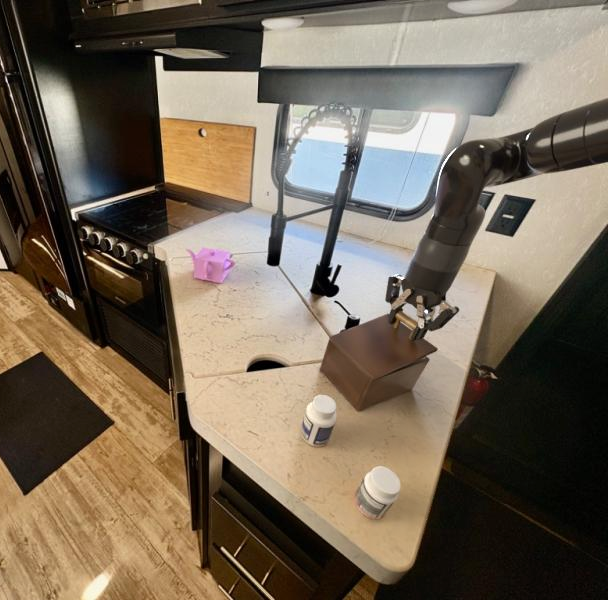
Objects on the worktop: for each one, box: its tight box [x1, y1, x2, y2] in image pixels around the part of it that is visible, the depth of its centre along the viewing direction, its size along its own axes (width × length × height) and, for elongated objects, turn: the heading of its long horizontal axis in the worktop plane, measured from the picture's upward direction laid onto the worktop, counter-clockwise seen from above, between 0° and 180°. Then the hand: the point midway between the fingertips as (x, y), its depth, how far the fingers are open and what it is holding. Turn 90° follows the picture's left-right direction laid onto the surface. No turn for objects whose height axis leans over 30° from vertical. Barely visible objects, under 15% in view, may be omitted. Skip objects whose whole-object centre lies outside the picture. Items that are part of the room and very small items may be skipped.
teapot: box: [185, 246, 236, 284], centre depth 108 cm, size 18×14×10 cm
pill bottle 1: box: [300, 394, 337, 448], centre depth 58 cm, size 5×5×10 cm
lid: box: [328, 311, 439, 380], centre depth 65 cm, size 16×13×5 cm
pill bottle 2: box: [354, 465, 402, 520], centre depth 49 cm, size 5×5×8 cm
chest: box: [319, 338, 431, 413], centre depth 70 cm, size 16×13×10 cm
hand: (403, 330), depth 66 cm, fingers closed on lid, 5 cm apart
